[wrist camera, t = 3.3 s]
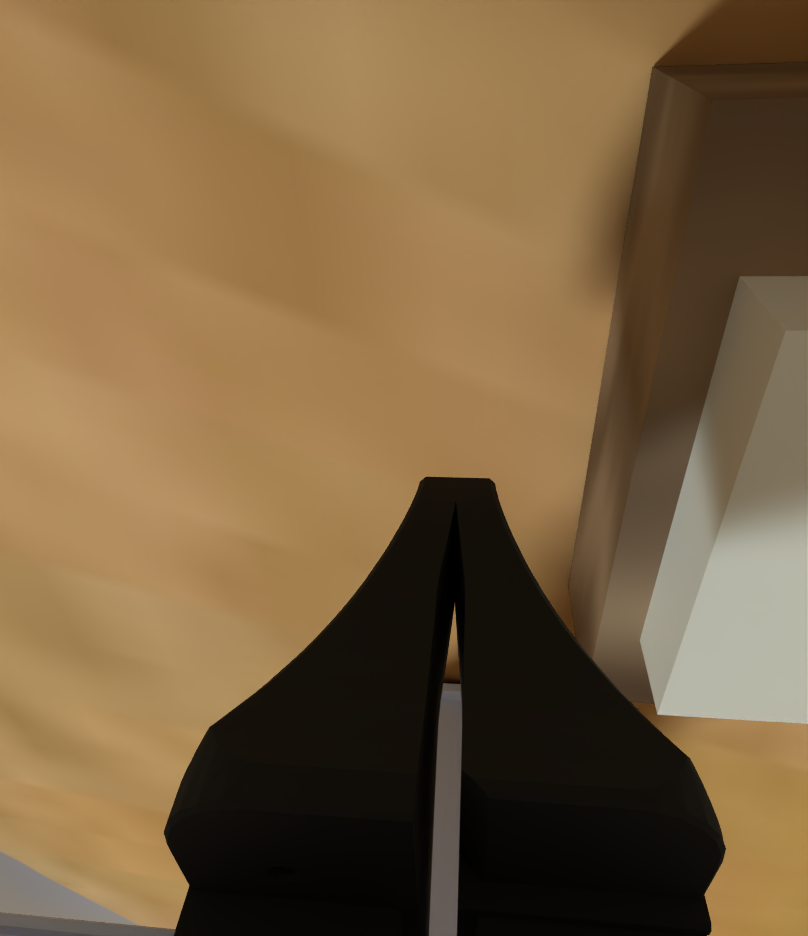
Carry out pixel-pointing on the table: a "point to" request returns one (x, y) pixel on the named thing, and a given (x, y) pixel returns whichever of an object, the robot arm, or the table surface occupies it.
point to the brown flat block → (680, 321)
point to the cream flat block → (741, 527)
